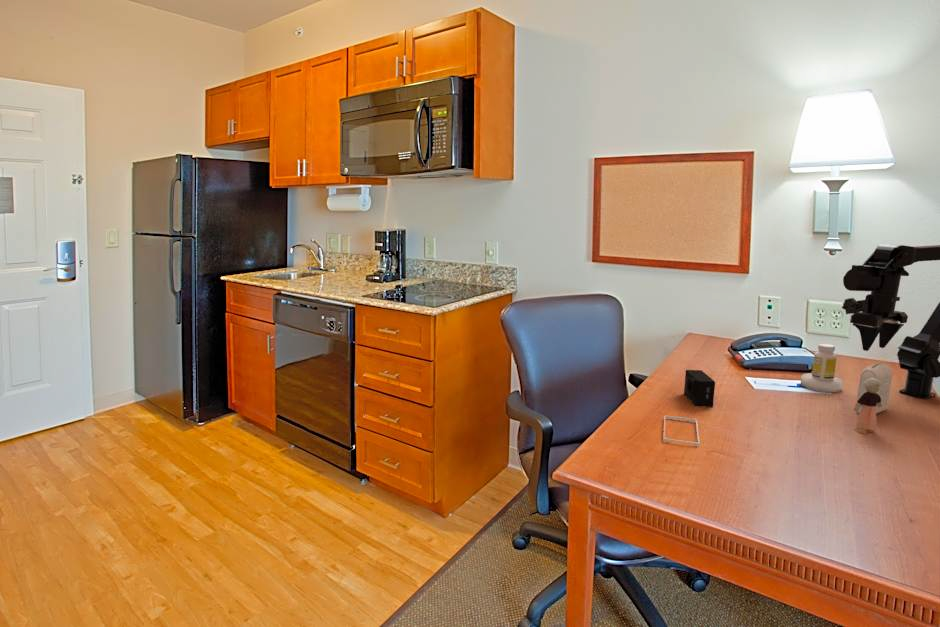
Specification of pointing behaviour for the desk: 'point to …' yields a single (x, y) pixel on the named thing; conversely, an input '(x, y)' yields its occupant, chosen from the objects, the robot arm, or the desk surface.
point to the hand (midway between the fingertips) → (873, 349)
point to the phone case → (681, 420)
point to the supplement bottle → (824, 363)
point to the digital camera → (699, 388)
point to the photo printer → (883, 375)
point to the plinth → (821, 383)
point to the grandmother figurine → (868, 406)
